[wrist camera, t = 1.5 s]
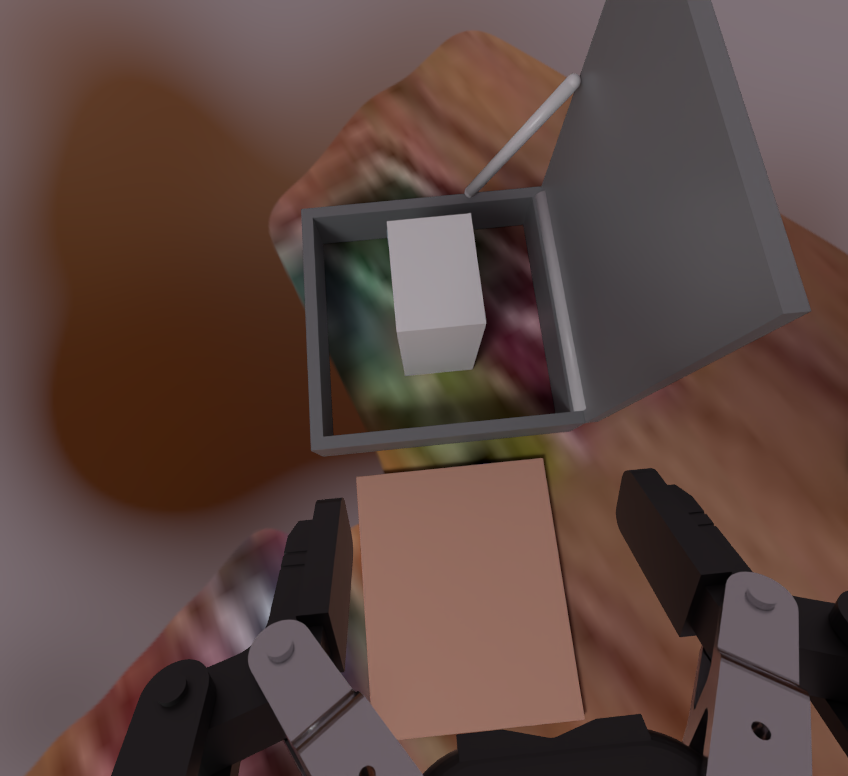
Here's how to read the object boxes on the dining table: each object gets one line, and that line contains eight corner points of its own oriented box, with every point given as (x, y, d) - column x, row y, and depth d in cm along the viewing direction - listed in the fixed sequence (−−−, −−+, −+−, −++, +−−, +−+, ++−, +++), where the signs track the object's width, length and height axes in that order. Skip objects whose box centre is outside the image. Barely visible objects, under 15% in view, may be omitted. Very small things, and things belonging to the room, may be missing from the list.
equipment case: (541, 214, 38) (669, -126, 18) (580, 430, 34) (811, 311, 13) (312, 235, 38) (175, -83, 17) (323, 456, 34) (157, 375, 13)
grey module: (462, 278, 37) (471, 207, 28) (473, 369, 35) (488, 323, 26) (395, 284, 37) (384, 215, 28) (403, 376, 35) (394, 332, 26)
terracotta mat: (541, 458, 33) (542, 457, 33) (582, 716, 29) (584, 719, 29) (357, 477, 33) (356, 476, 33) (373, 739, 29) (373, 742, 29)
